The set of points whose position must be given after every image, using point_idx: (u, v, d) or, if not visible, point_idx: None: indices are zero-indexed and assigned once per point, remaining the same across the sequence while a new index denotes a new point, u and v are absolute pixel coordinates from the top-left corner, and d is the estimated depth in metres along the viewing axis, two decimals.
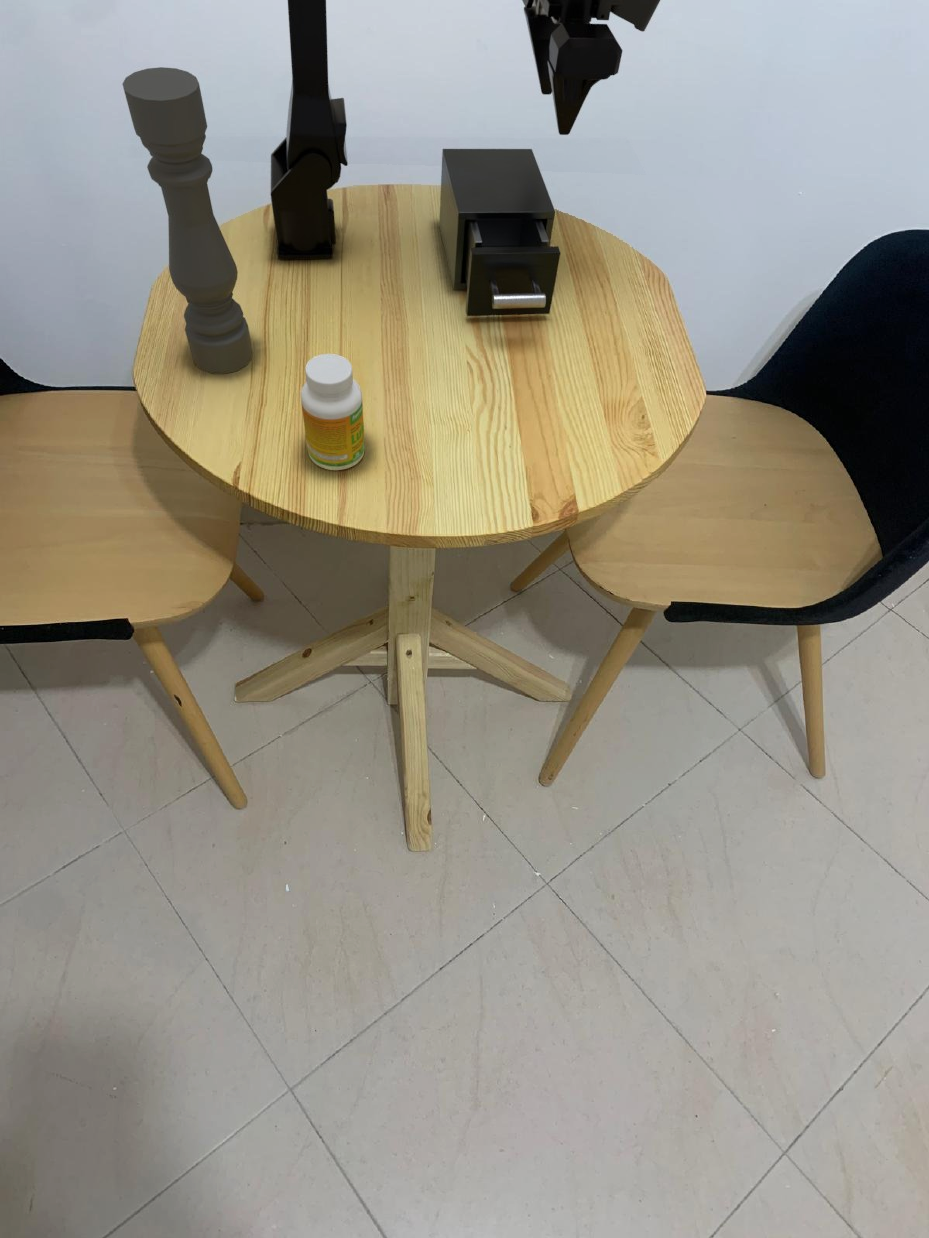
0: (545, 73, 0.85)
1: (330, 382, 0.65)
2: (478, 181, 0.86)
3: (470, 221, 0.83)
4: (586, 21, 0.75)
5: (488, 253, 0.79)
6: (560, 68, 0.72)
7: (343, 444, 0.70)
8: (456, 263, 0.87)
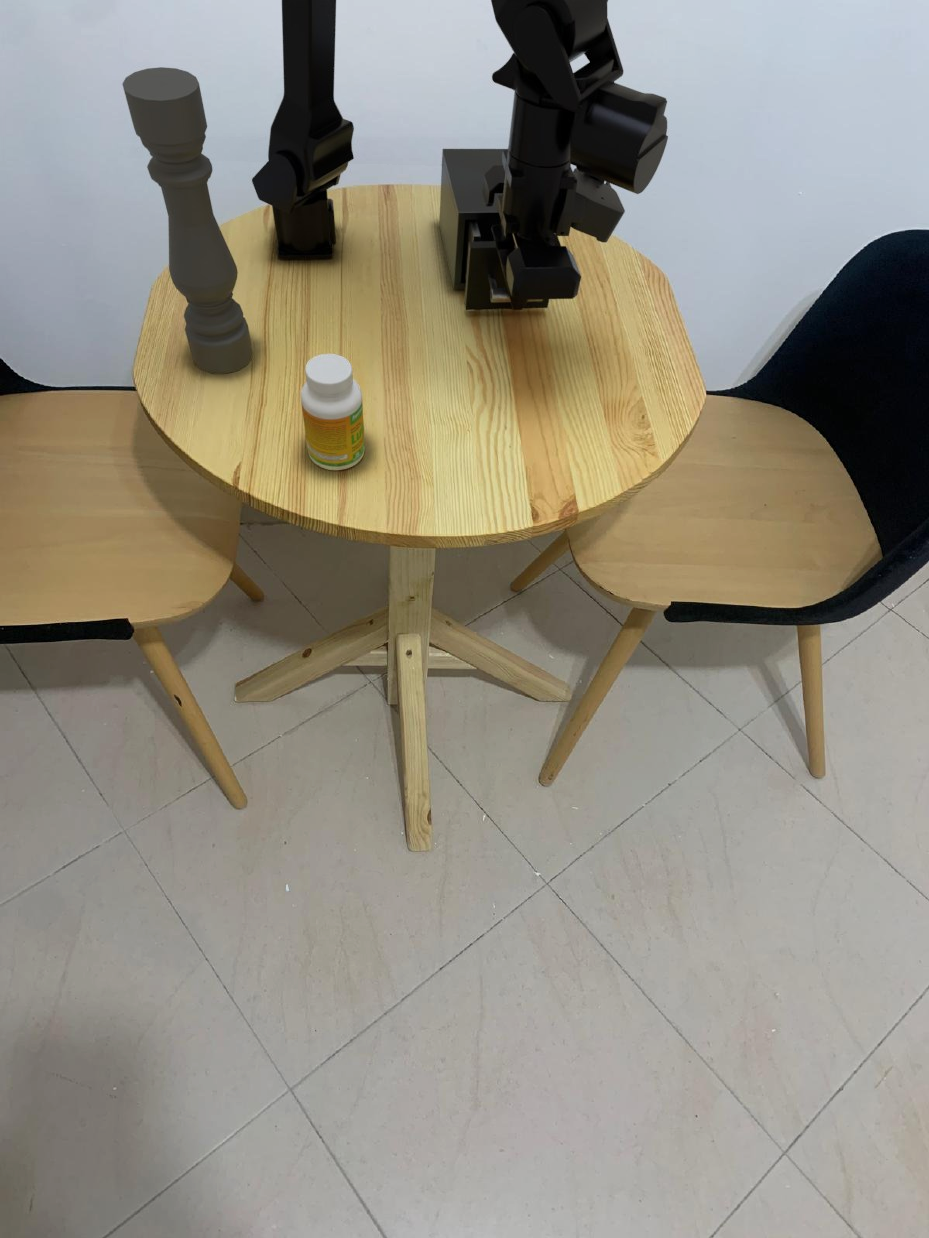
0: None
1: (330, 382, 0.65)
2: (478, 181, 0.86)
3: None
4: (545, 236, 0.72)
5: (486, 247, 0.80)
6: (516, 294, 0.69)
7: (343, 444, 0.70)
8: (456, 263, 0.87)
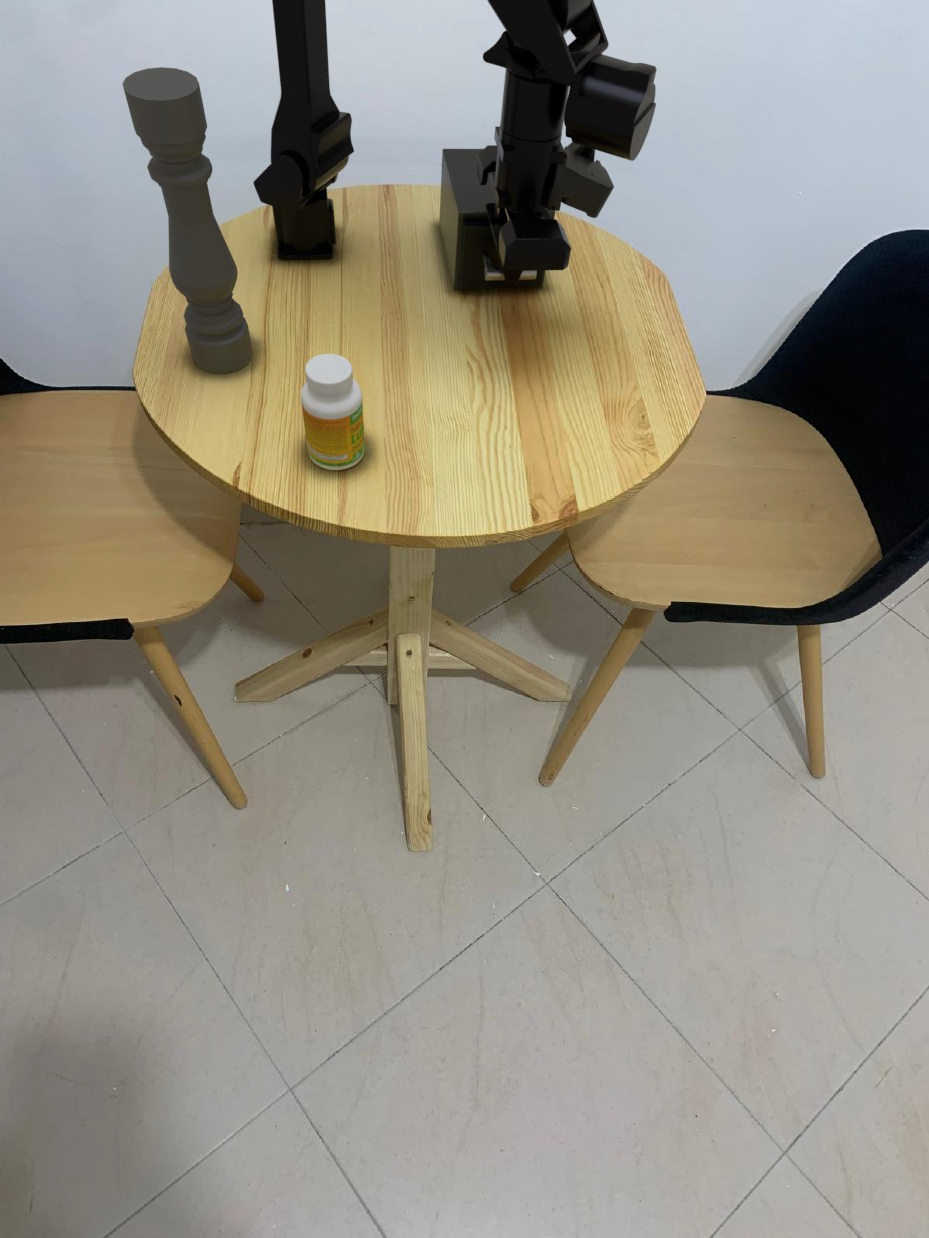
0: None
1: (330, 382, 0.65)
2: (478, 181, 0.86)
3: None
4: (537, 211, 0.74)
5: (481, 226, 0.82)
6: (508, 265, 0.71)
7: (343, 444, 0.70)
8: (456, 263, 0.87)
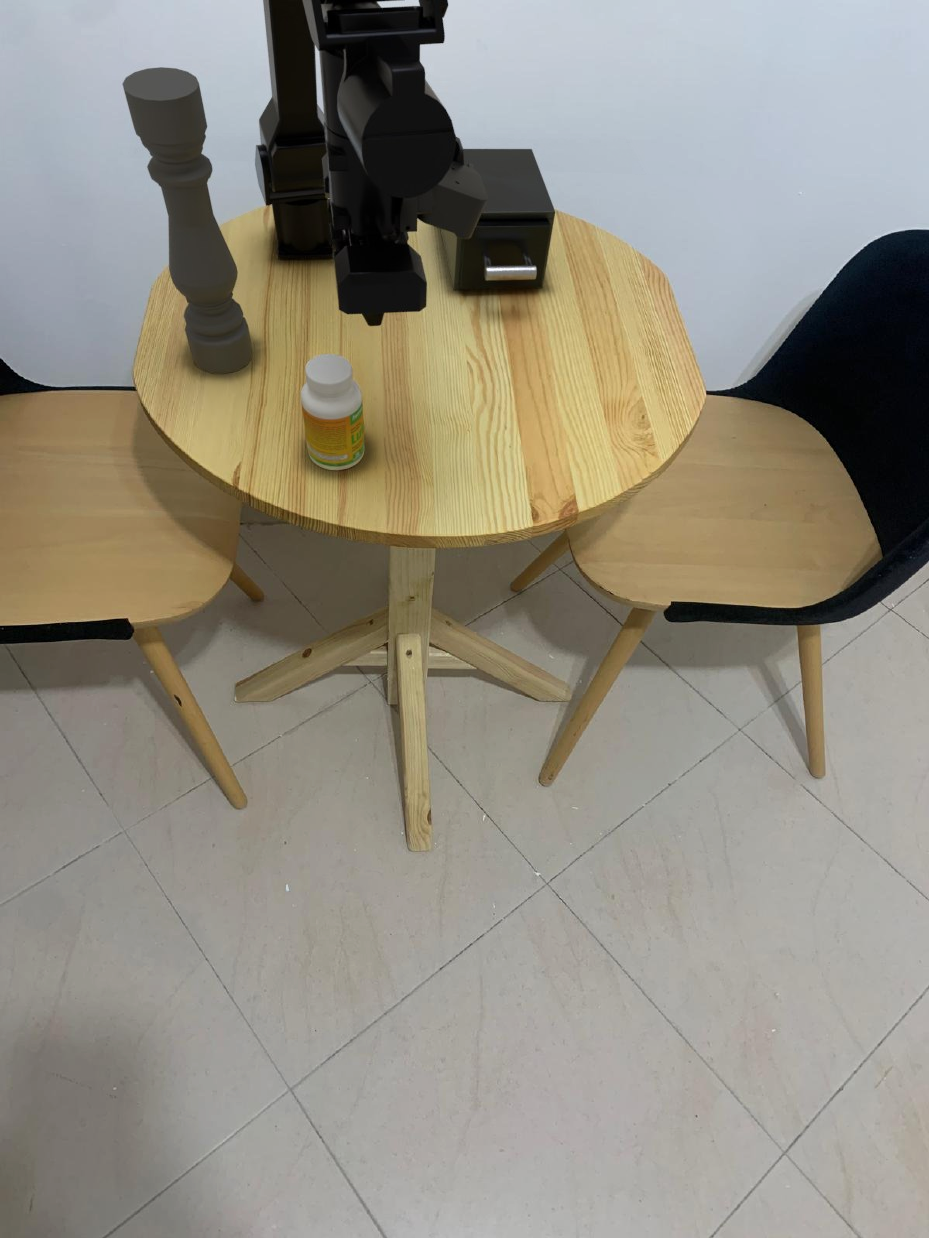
0: None
1: (330, 382, 0.65)
2: None
3: None
4: (387, 233, 0.56)
5: (481, 226, 0.82)
6: (344, 307, 0.54)
7: (343, 444, 0.70)
8: (456, 263, 0.87)
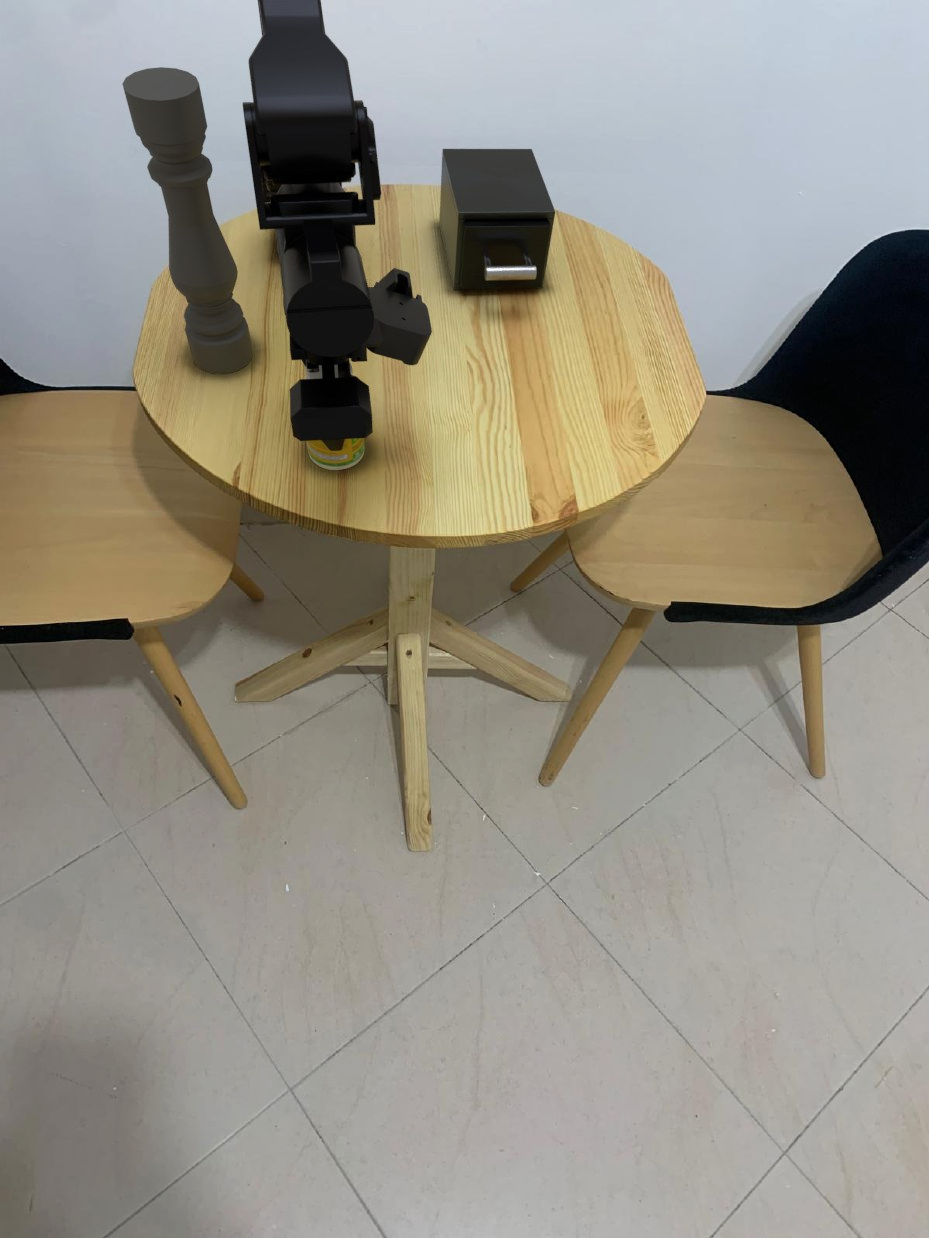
0: None
1: None
2: (478, 181, 0.86)
3: None
4: (340, 362, 0.62)
5: (481, 226, 0.82)
6: (297, 435, 0.59)
7: None
8: (456, 263, 0.87)
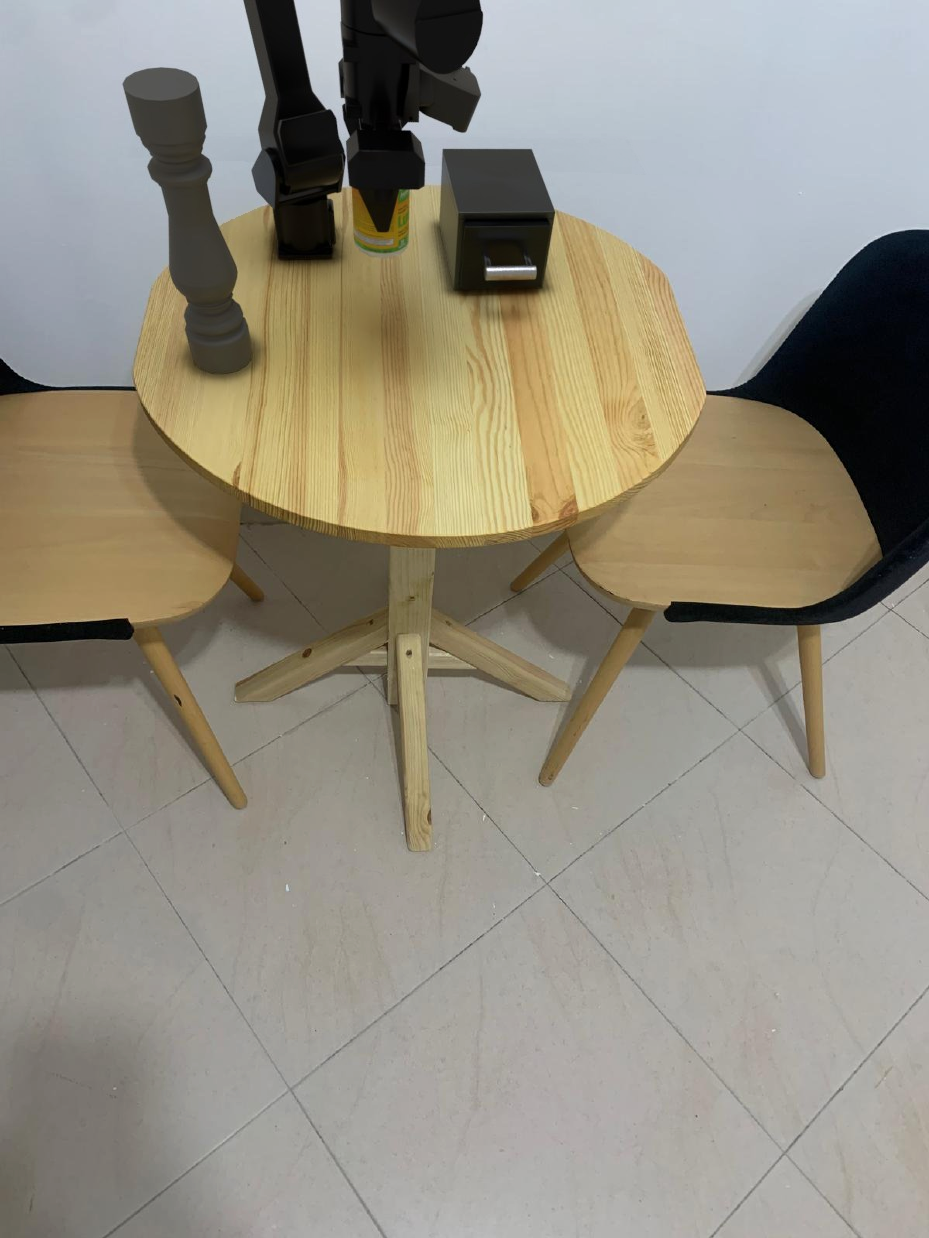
0: None
1: None
2: (478, 181, 0.86)
3: None
4: (393, 123, 0.65)
5: (481, 226, 0.82)
6: (353, 182, 0.62)
7: (390, 226, 0.72)
8: (456, 263, 0.87)
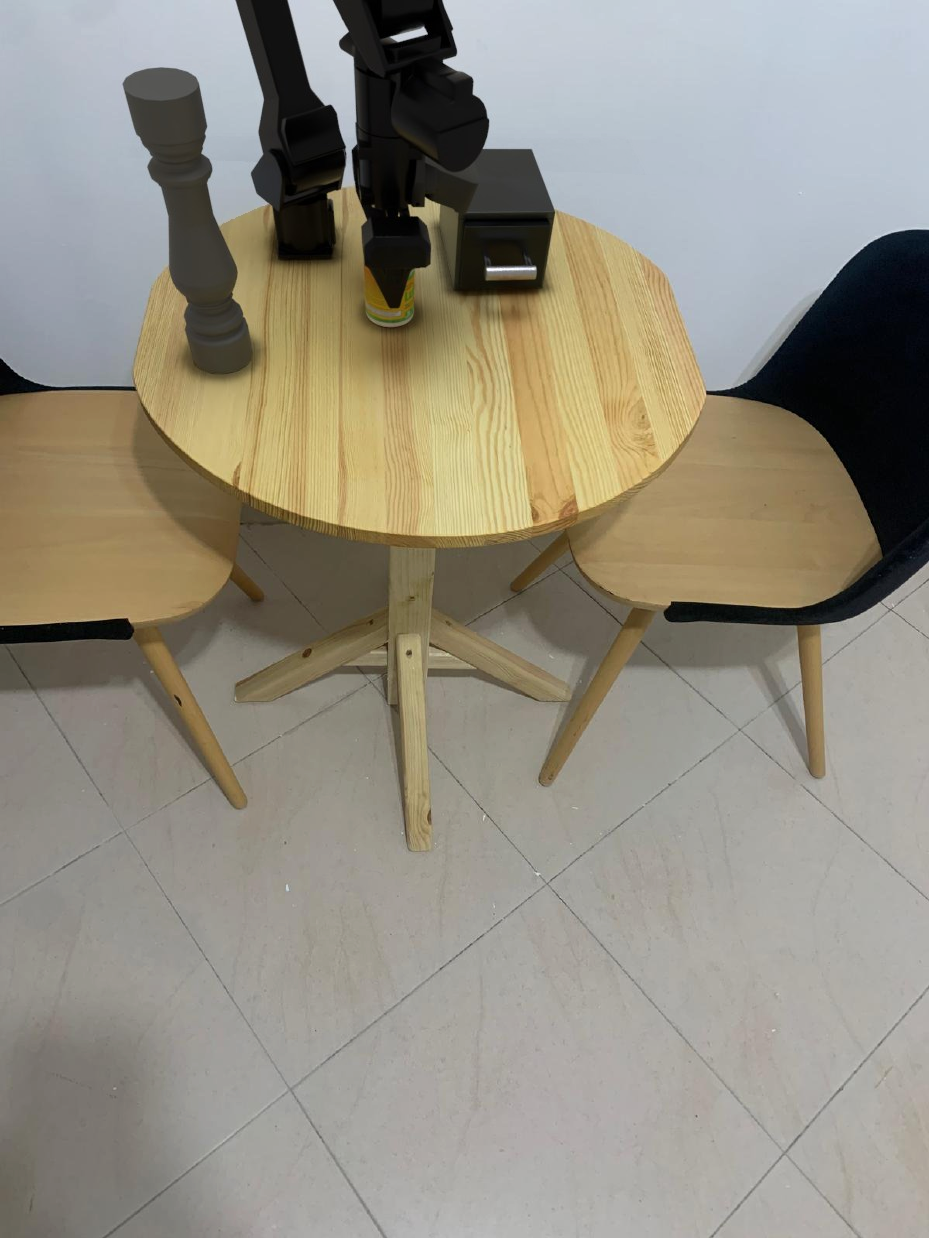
0: None
1: None
2: None
3: None
4: (402, 208, 0.74)
5: (481, 226, 0.82)
6: (368, 263, 0.71)
7: None
8: (456, 263, 0.87)
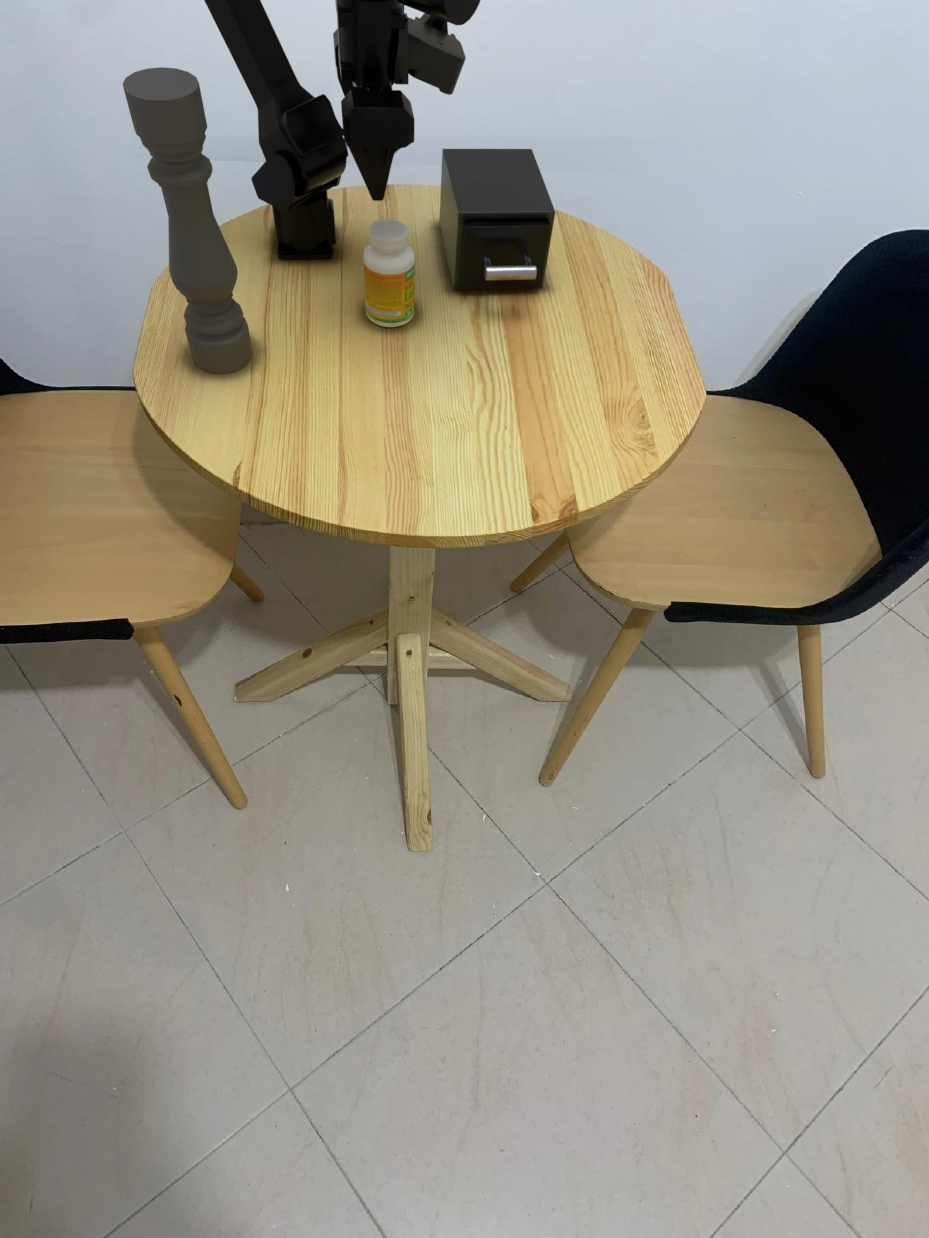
0: None
1: (391, 239, 0.77)
2: (478, 181, 0.86)
3: None
4: (384, 85, 0.70)
5: (481, 226, 0.82)
6: (348, 138, 0.67)
7: (398, 300, 0.82)
8: (456, 263, 0.87)
